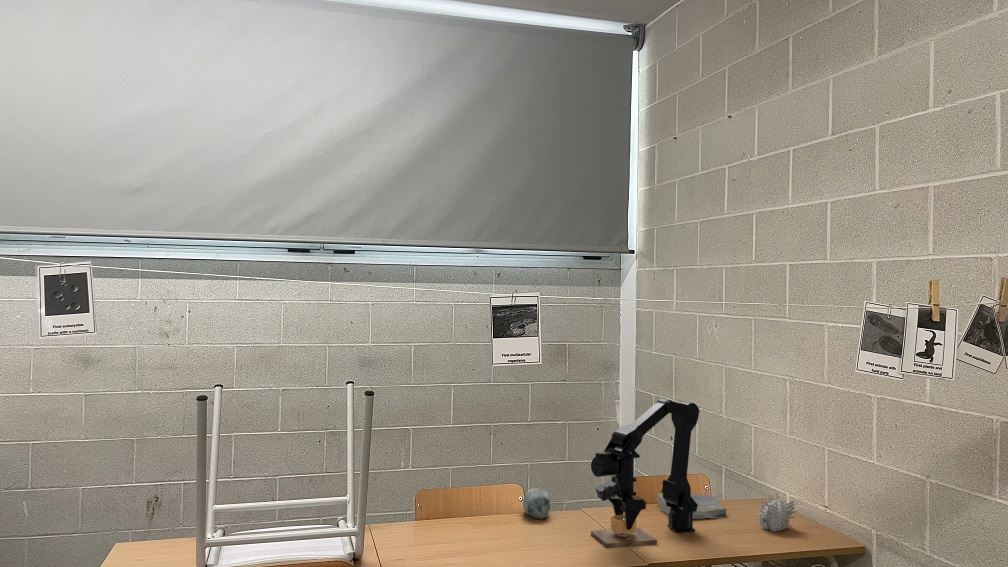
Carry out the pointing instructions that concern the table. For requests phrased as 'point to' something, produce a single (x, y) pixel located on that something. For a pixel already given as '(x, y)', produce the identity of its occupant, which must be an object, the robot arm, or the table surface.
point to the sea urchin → (775, 514)
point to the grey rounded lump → (537, 503)
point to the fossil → (699, 506)
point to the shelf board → (623, 538)
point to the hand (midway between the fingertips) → (623, 526)
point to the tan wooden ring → (621, 525)
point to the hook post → (623, 534)
